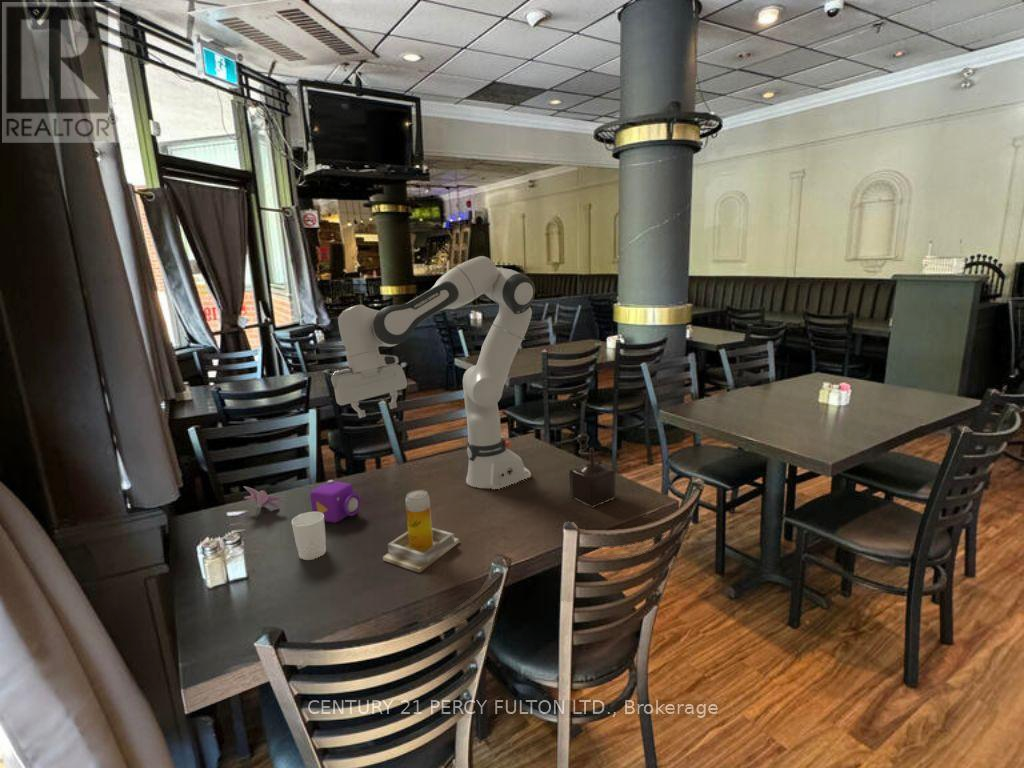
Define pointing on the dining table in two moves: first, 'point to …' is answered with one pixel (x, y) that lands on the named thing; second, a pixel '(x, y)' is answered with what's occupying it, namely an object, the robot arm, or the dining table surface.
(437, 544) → the socket board
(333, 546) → the dining table surface
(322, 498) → the toy camera
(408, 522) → the glass of beer
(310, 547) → the white cup
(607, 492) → the pepper mill
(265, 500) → the lily
